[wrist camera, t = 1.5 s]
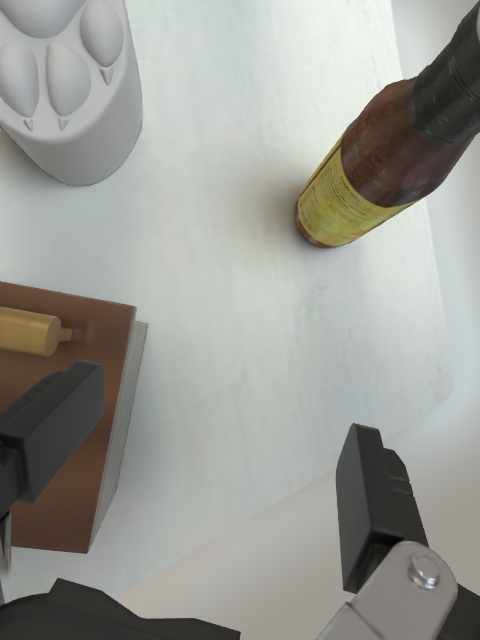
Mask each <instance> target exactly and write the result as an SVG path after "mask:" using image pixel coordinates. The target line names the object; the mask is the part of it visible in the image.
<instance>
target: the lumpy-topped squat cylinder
mask: <svg viewBox="0 0 480 640" xmlns="http://www.w3.org/2000/svg"><path fill="white" fill-rule="evenodd" d="M0 126H1V127H2V128H3V129H4V130H5V131H6V132H7V133H8V134H9V135H10V137H11V138H12V139H13V140H14V141H15V142H16V143H17V144H18V145H19V146H20V147H21V148H22V149H23V150H24V152H25V153H26V154H27V155H28V156H29V157H30V158H31V159H32V160H33V161H34V162H35V163H36V164H37V165H38V166H39V167H40V168H41V169H42V170H43V171H45V172H46V173H48V174H49V175H51V176H52V177H54V178H55V179H57V180H59V181H61V182H63V183H66V184H69V185H73V186H88V185H93V184H96V183H98V182H100V181H102V180H104V179H105V178H107V177H108V176H110V175H111V174H112V173H114V172H115V171H116V170H117V169H118V168H119V167H120V166H121V165H122V164H123V163H124V161H125V160H126V158H127V157H128V155H129V154H130V152H131V150H132V148H133V146H134V145H135V143H136V141H137V138H138V136H139V134H140V131H141V127H142V92H141V83H140V78H139V72H138V66H137V61H136V56H135V51H134V46H133V40H132V35H131V30H130V25H129V20H128V15H127V10H126V6H125V1H124V0H0Z"/></svg>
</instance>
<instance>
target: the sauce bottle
mask: <svg viewBox="0 0 480 640" xmlns="http://www.w3.org/2000/svg"><path fill="white" fill-rule="evenodd" d="M479 132H480V1H479V2H478V3H477V4H476V5H475V6H474V7H473V8H472V10H471V11H470V12H469V13H468V14H467V15H466V16H465V17H464V18H463V19H462V21H461V23H460V24H459V25H458V28H457V30H456V32H455V34H454V36H453V38H452V40H451V41H450V43H449V44H448V45H447V46H446V47H445V48H444V50H443V51H442V52H441V53H440V54H439V55H438V56H437V58H436V59H435V60H434V61H433V62H432V63H431V64H430V65H429V66H426V68H425V69H424V70H423V71H422V72H421V73H420V74H419V75H418V76H417V77H414V78H412V79H409V80H401V81H398V82H394V83H391V84H389V85H387V86H385V88H384V89H383V90H382V91H380V92H379V93H378V94H376V95H375V96H374V97H373V99H372V100H371V101H370V102H369V103H368V104H367V105H366V107H365V108H364V110H363V111H362V112H361V113H360V115H359V116H358V118H357V119H355V120H354V121H353V122H352V123H351V124H350V125H349V126H348V128H347V129H346V130H345V132H344V133H343V134H342V136H341V137H340V138H339V140H338V141H337V143H336V144H335V145H334V147H333V148H332V149H331V151H330V152H329V153H328V155H327V156H326V157H325V159H324V160H323V161H322V163H321V164H320V165H319V167H318V168H317V170H316V171H315V172H314V174H313V175H312V176H311V178H310V179H309V180H308V182H307V183H306V184H305V186H304V187H303V189H302V190H301V193H300V196H299V198H298V200H297V202H296V204H295V220H296V222H297V225H298V229H299V230H300V233H301V234H302V235H303V236H304V237H305V238H306V239H307V240H308V241H309V242H311V243H312V244H314V245H317V246H319V247H322V248H334V247H338V246H341V245H345V244H348V243H351V242H353V241H355V240H356V239H358V238H359V237H361V236H363V235H364V234H366V233H367V232H369V231H371V230H372V229H374V228H376V227H377V226H379V225H380V224H382V223H384V222H385V221H386V220H388V219H390V218H392V217H393V216H395V215H397V214H398V213H400V212H401V211H403V210H404V209H406V208H408V207H409V206H411V205H413V204H414V203H416V202H418V201H419V200H421V199H422V198H424V197H425V196H427V195H428V194H430V193H431V192H433V191H434V190H435V189H436V188H437V187H439V186H440V185H441V184H442V183H443V181H444V180H445V179H446V177H447V176H448V174H449V173H450V172H451V170H452V169H453V167H454V166H455V164H456V163H457V161H458V160H459V159H460V157H461V156H462V154H463V153H464V151H465V150H466V149H467V147H468V146H469V144H470V143H471V141H472V140H473V139H474V137H475V135H476V134H478V133H479Z"/></svg>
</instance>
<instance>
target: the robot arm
mask: <svg viewBox="0 0 480 640" xmlns="http://www.w3.org/2000/svg"><path fill="white" fill-rule="evenodd" d="M104 407H105V368H104V366H103V365H102V364H98V363H94V362H89V361H85V360H81V359H80V360H77V361H76V362H75V363H74V364H73V365H71V366H70V367H69V368H68V369H67V370H66V371H65V372H63V371H57V372H55V373H53V374H51V375H48V376H46V377H44V378H42V379H41V380H40V381H39V382H37V383H36V384H35V385H34V386H33V387H31V390H28V391H27V392H25V393H24V394H23V395H22V396H21V398H20V399H17V400H16V401H15V402H13V403H12V404H11V405H10V406H9V407H7V408H6V409H5V410H4V411H3V412H2V413H0V640H240V634H241V632H239V631H236V630H232V629H229V628H226V627H222V626H219V625H216V624H212V623H209V622H205V621H202V620H199V619H195V618H172V619H171V618H165V619H145V618H141V617H139V616H137V615H135V614H134V613H133V612H131V611H130V610H128V609H127V608H125V607H124V606H123V605H121V604H119V603H118V602H117V601H115V600H114V599H113V598H111V597H110V596H108V595H107V594H105V593H104V592H103V591H101V590H98V589H94V588H91V587H88V586H84V585H81V584H78V583H74V582H71V581H67V580H64V579H61V578H57V580H56V581H55V583H54V585H53V586H52V588H51V590H50V591H49V593H43V594H36V595H30V596H26V597H22V598H19V599H16V600H13V601H12V597H11V531H12V513H11V507H12V506H13V504H14V503H15V502H16V501H20V502H23V503H27V504H30V505H32V504H33V503H34V502H35V501H36V499H37V498H38V497H39V496H40V494H41V493H42V492H43V491H44V489H45V488H46V487H47V486H48V484H49V483H50V482H51V481H52V479H53V478H54V477H55V475H56V474H57V473H58V472H59V470H60V469H61V468H62V467H63V465H64V464H65V463H66V462H67V460H68V459H69V458H70V457H71V455H72V454H73V453H74V452H75V450H76V449H77V448H78V447H79V445H80V444H81V443H82V442H83V440H84V439H85V438H86V437H87V435H88V434H89V433H90V432H91V430H92V429H93V428H94V427H95V425H96V424H97V423H98V421H99V420H100V418H101V416H102V414H103V411H104ZM336 491H337V506H338V521H339V535H340V549H341V564H342V578H343V590H344V591H348V592H352V593H355V594H356V596H355V597H354V598H353V599H352V601H351V602H350V603H348V602H346V603H345V604H344V605H343V606H342V607H341V608H340V609H339V610H338V612H337V613H336V614H335V615H334V617H333V618H332V619H331V620H330V622H329V623H328V624H327V625H326V627H325V628H324V629H323V630H322V632H321V633H320V634H319V636H318V637H317V638H316V639H315V640H480V596H478V595H476V594H475V593H473V592H471V591H470V590H467V589H466V588H464V587H463V586H461V585H460V584H458V583H457V582H456V579H455V577H454V575H453V572H452V571H451V569H450V567H449V566H448V565H447V564H446V562H445V561H444V560H443V559H442V558H441V557H440V556H439V555H438V554H436V553H435V552H434V551H433V550H431V549H430V548H429V545H428V542H427V538H426V535H425V532H424V528H423V525H422V521H421V518H420V515H419V511H418V508H417V505H416V501H415V498H414V497H413V491H412V487H411V484H410V483H409V477H408V474H407V471H406V467H405V465H404V463H403V462H402V460H401V459H400V458H399V456H398V455H397V454H396V453H395V451H394V450H390V449H386V448H383V443H382V439H381V435H380V431H379V430H378V429H376V428H372V427H368V426H364V425H359V424H355V423H353V424H352V425H351V427H350V429H349V432H348V435H347V438H346V440H345V443H344V446H343V449H342V452H341V454H340V457H339V460H338V464H337V469H336Z"/></svg>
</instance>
